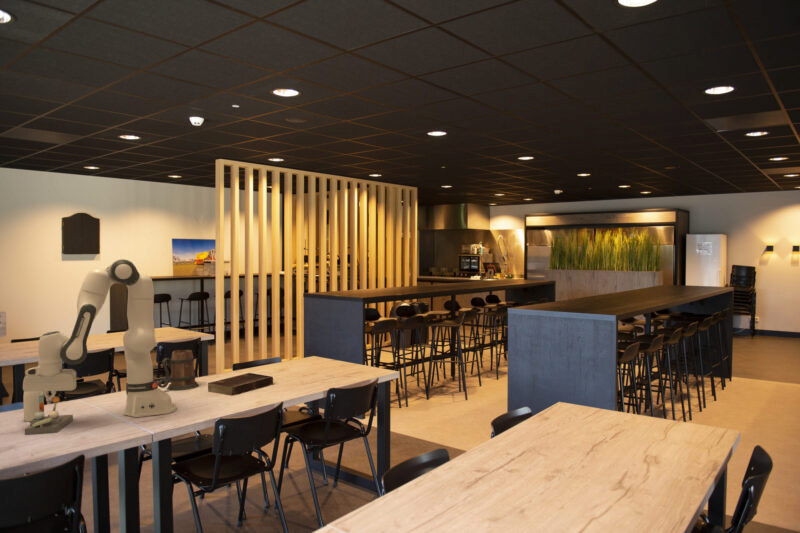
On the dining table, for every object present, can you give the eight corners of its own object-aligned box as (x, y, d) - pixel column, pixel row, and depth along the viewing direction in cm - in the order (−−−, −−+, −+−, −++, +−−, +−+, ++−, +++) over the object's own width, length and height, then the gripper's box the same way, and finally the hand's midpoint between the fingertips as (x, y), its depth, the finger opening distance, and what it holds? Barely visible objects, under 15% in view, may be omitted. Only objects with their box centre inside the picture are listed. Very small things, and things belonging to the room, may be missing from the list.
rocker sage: (52, 419, 238) (51, 417, 238) (49, 421, 234) (48, 419, 234) (36, 424, 236) (35, 422, 236) (32, 427, 233) (32, 424, 233)
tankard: (186, 382, 325) (185, 347, 324) (205, 385, 316) (204, 349, 315) (149, 391, 305) (148, 354, 304) (169, 394, 296) (168, 356, 295)
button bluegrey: (45, 417, 241) (44, 411, 241) (41, 419, 238) (41, 413, 238) (36, 417, 241) (36, 411, 240) (33, 419, 237) (33, 413, 237)
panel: (73, 420, 252) (72, 410, 252) (56, 432, 235) (56, 421, 235) (43, 422, 250) (43, 412, 250) (24, 434, 232) (24, 423, 232)
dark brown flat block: (232, 396, 291) (232, 386, 291) (208, 392, 301) (207, 383, 301) (273, 384, 315) (273, 376, 315) (249, 381, 326) (249, 372, 325)
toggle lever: (58, 411, 248) (61, 396, 248) (55, 413, 245) (58, 398, 245) (51, 410, 247) (54, 395, 247) (49, 412, 245) (52, 397, 245)
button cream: (59, 416, 242) (59, 410, 242) (56, 418, 239) (56, 412, 239) (51, 416, 242) (50, 410, 242) (47, 418, 238) (47, 412, 238)
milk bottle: (34, 422, 250) (32, 377, 250) (19, 421, 252) (18, 376, 251) (48, 417, 258) (47, 373, 257) (34, 416, 259) (32, 373, 259)
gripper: (79, 367, 251) (78, 398, 251) (27, 368, 247) (27, 400, 247) (73, 370, 245) (73, 402, 245) (21, 371, 241) (20, 403, 241)
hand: (49, 401), depth 246 cm, fingers closed
